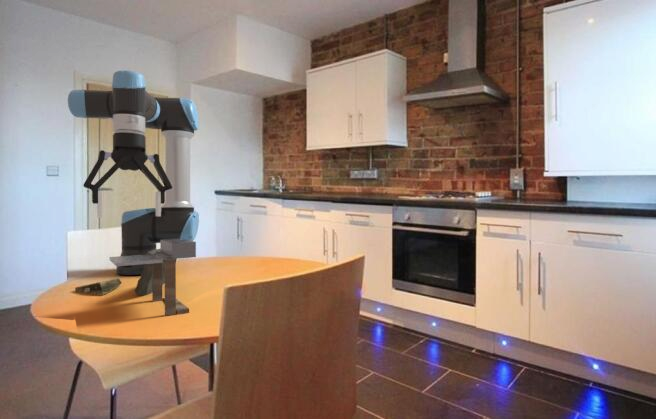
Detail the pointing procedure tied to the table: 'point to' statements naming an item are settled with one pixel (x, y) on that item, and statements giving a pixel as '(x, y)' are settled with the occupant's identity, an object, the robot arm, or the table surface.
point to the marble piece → (148, 278)
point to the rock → (99, 287)
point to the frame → (167, 287)
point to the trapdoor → (160, 253)
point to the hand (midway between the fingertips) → (130, 216)
